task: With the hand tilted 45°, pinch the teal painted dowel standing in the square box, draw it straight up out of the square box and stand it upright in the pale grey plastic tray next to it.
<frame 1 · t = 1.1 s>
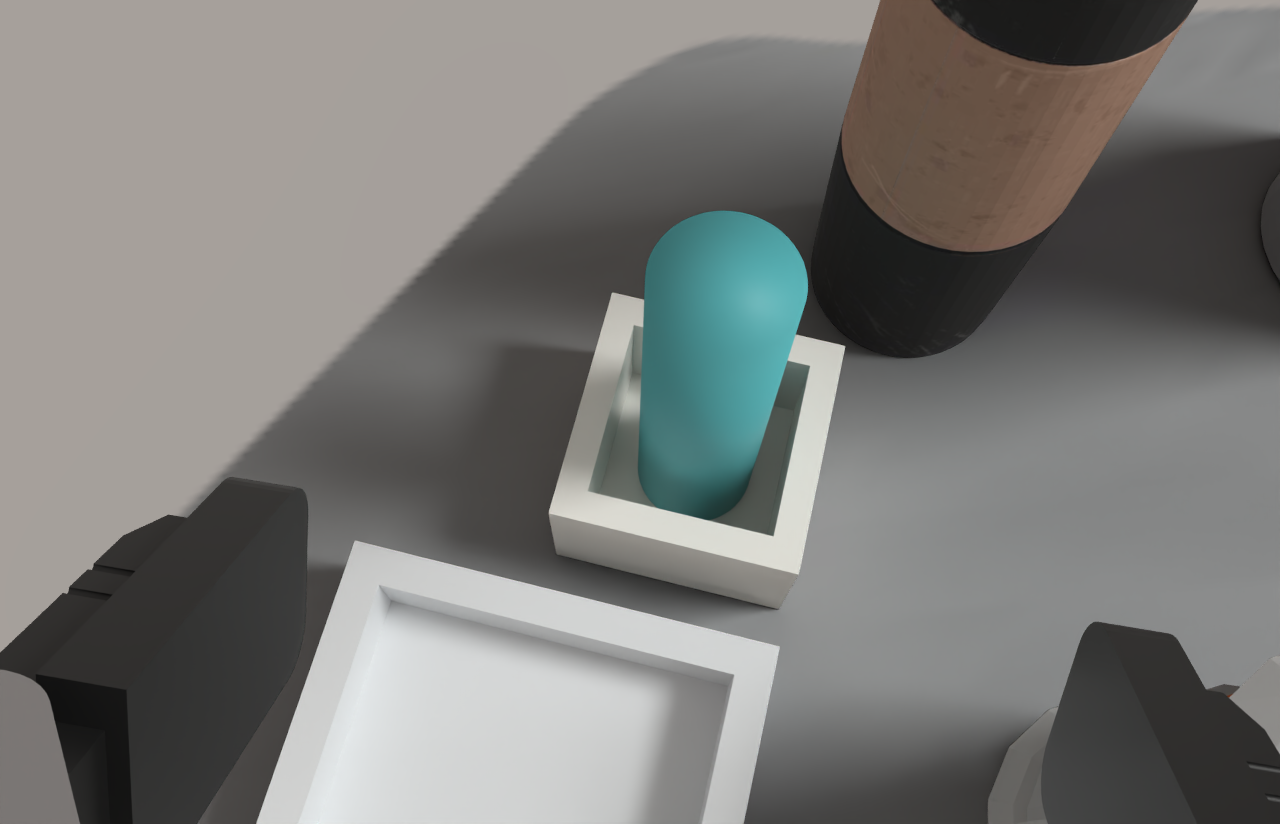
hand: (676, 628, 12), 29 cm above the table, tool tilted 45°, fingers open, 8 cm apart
dowel: (694, 467, 42), point 1 cm above the table, touching square box
tray: (520, 792, 39), on the table
travel mug: (900, 278, 47), on the table
square box: (692, 476, 43), on the table
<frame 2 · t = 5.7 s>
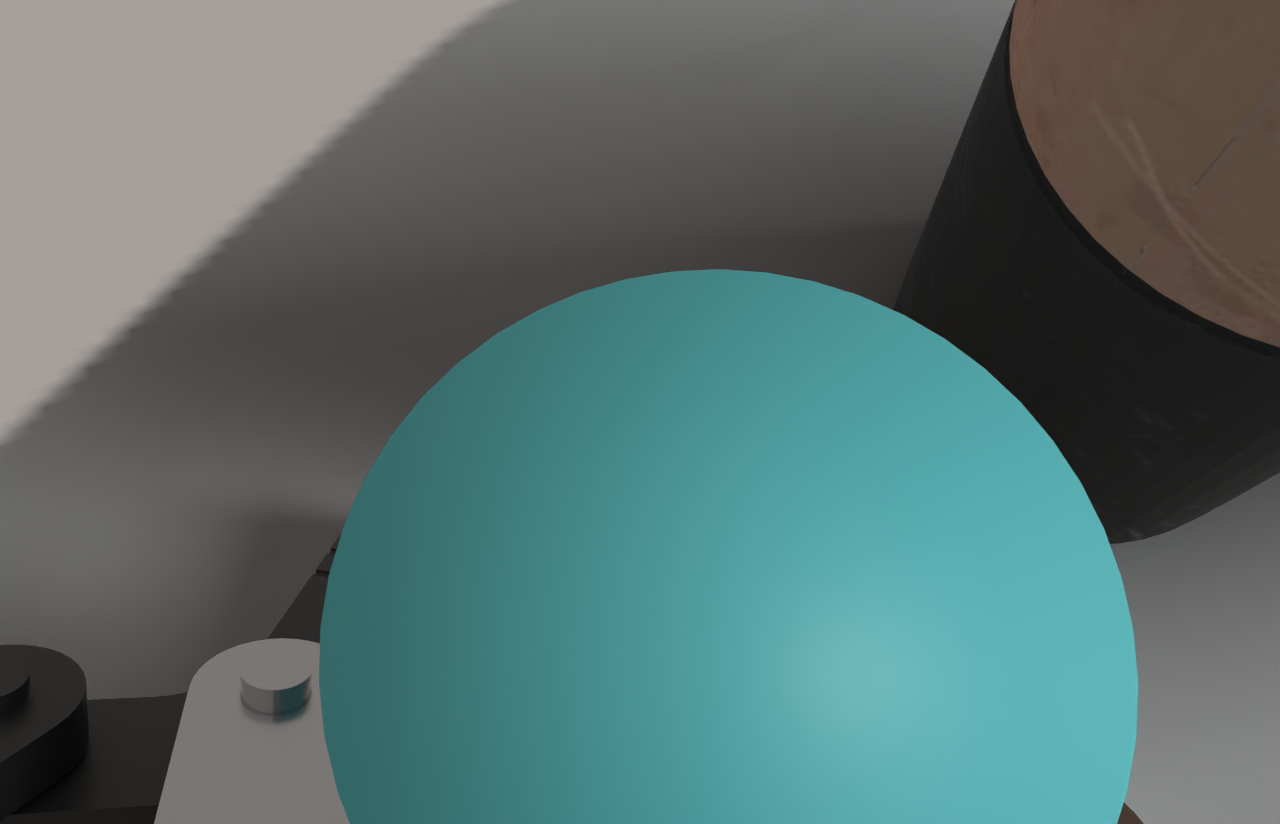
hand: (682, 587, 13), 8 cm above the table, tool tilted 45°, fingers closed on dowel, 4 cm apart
dowel: (640, 813, 19), point 1 cm above the table, touching square box, gripper
travel mug: (1065, 373, 23), on the table
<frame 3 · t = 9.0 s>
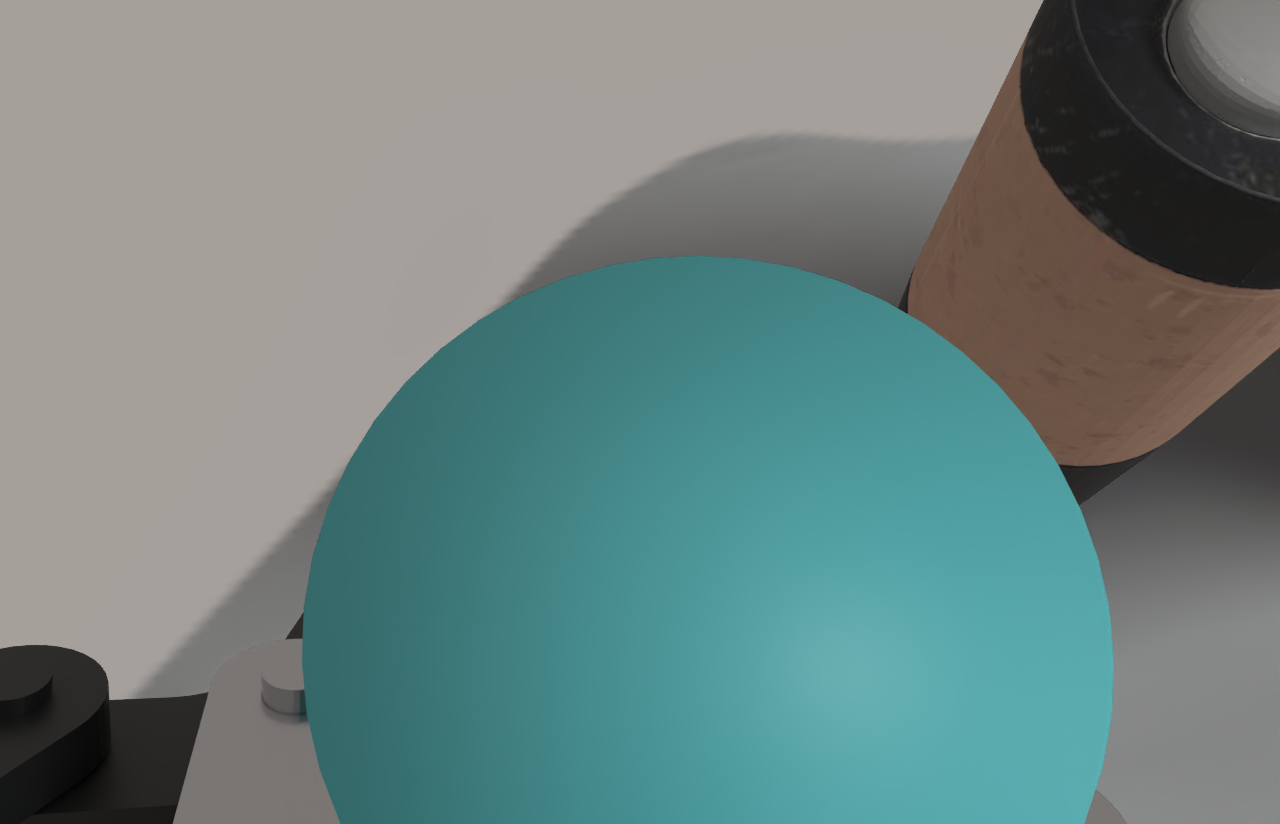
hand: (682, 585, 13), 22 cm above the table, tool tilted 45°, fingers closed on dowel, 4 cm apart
dowel: (643, 811, 19), point 15 cm above the table, touching gripper
travel mug: (967, 441, 38), on the table
when the fingers open (10 cm above the table, at t = 12.2 s): dowel drops 2 cm, resting on tray.
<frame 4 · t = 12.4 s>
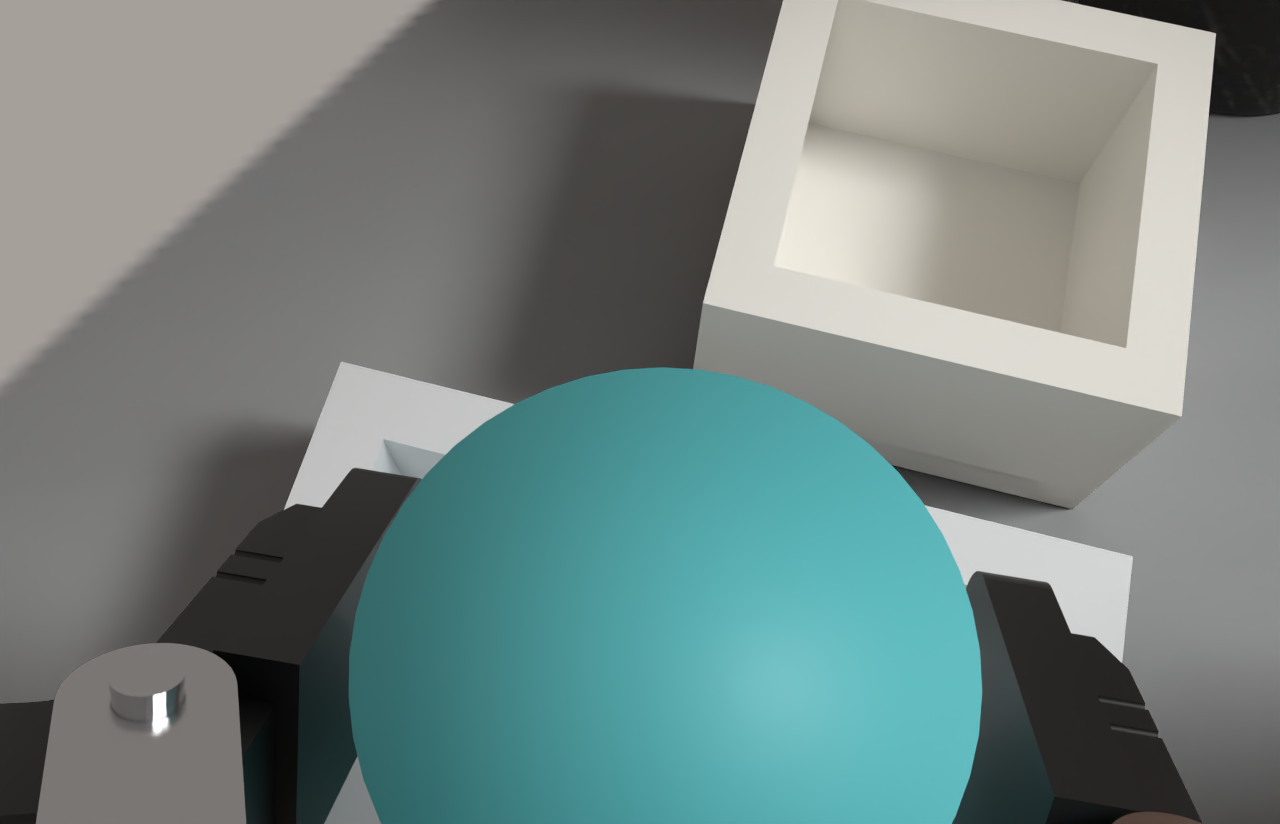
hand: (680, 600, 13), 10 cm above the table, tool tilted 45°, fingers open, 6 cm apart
travel mug: (1215, 2, 29), on the table
square box: (909, 292, 26), on the table
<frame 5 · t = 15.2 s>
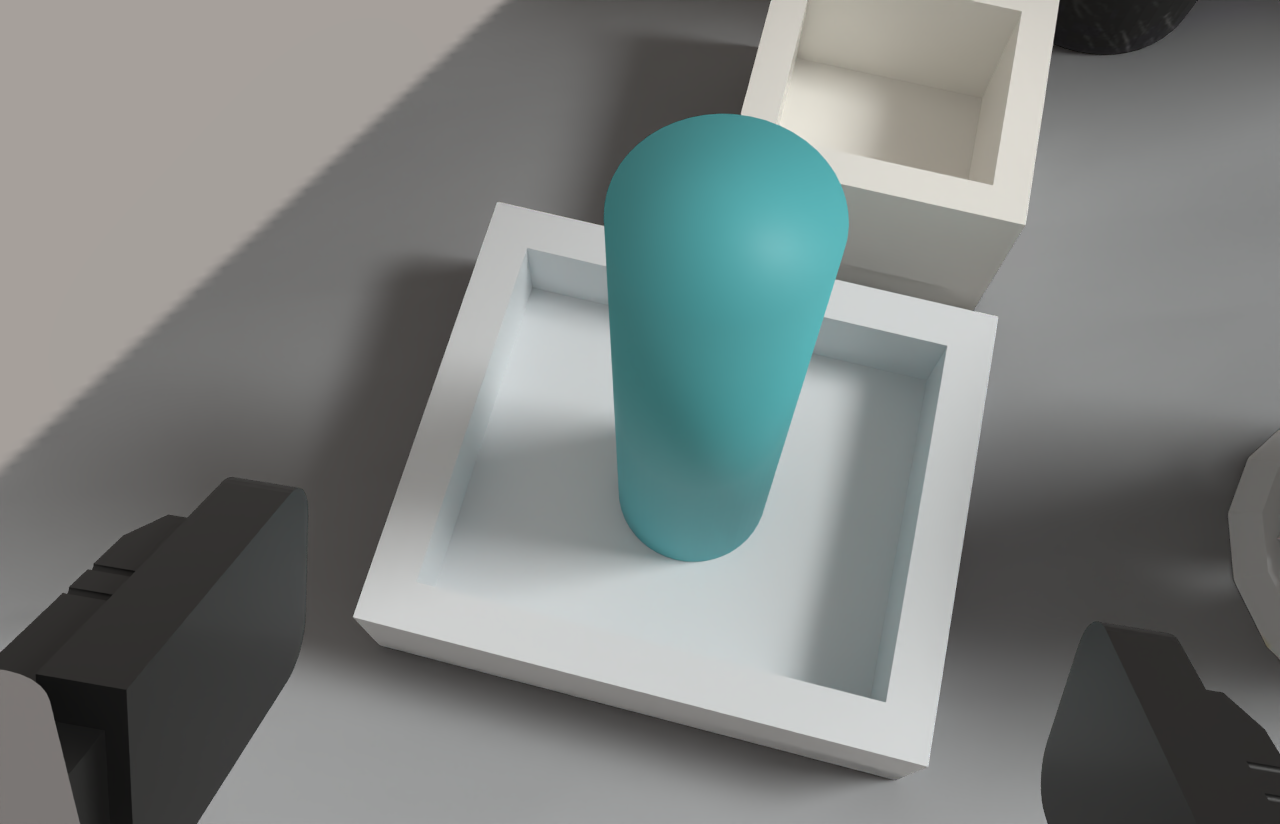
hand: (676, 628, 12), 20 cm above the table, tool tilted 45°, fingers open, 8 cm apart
dowel: (692, 490, 32), point 1 cm above the table, touching tray
tray: (686, 500, 34), on the table
square box: (865, 173, 38), on the table
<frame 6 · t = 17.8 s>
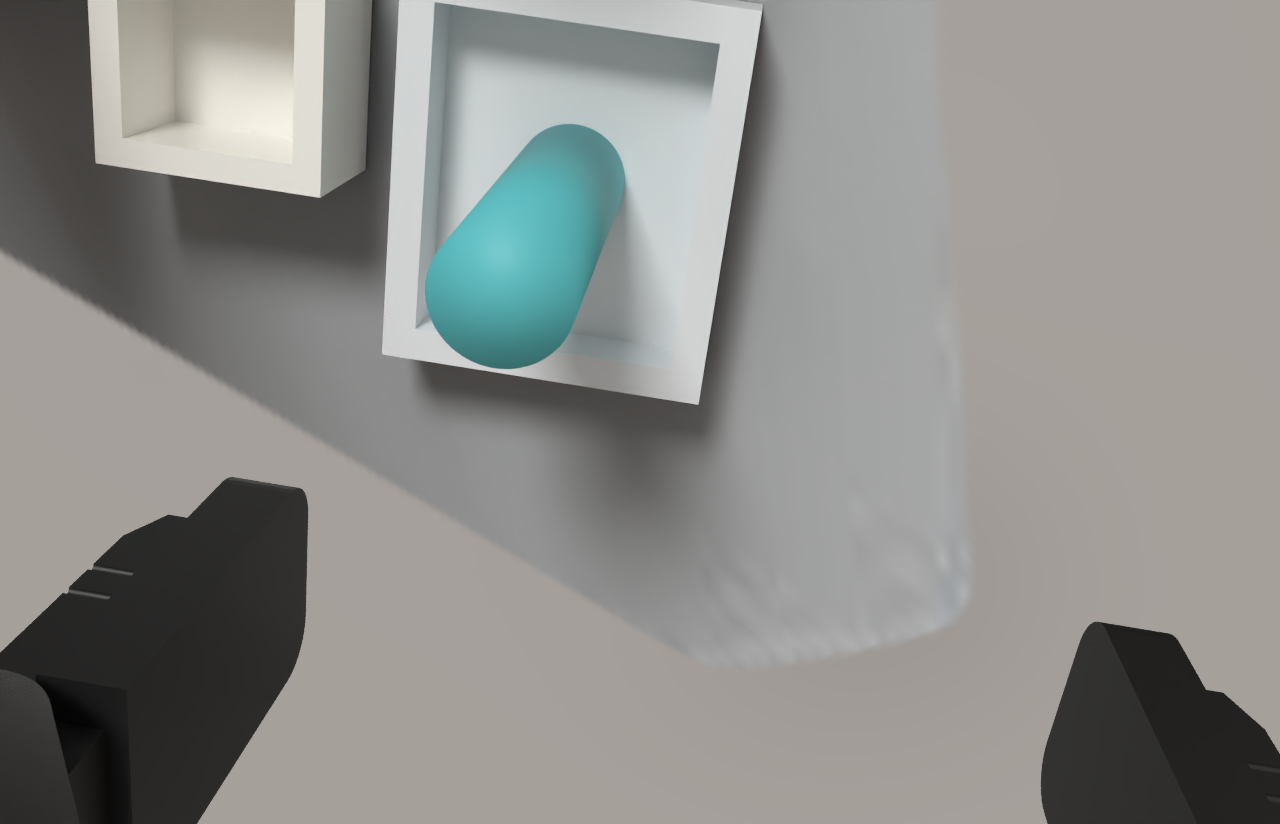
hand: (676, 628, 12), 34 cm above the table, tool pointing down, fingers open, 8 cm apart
dowel: (570, 179, 44), point 1 cm above the table, touching tray
tray: (573, 175, 45), on the table
square box: (264, 47, 44), on the table
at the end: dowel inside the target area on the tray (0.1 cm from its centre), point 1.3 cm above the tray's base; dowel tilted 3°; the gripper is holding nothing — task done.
